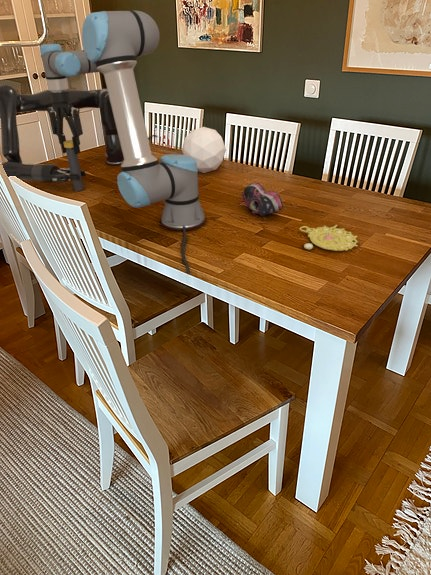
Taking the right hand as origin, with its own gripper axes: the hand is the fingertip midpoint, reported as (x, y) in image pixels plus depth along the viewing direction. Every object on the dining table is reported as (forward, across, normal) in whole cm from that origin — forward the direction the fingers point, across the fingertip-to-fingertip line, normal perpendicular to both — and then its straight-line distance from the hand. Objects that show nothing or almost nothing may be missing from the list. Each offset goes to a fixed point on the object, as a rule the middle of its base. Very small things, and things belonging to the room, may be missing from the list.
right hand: (71, 152), depth 179 cm
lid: (-4, 0, 0) cm, 4 cm away
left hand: (+9, -3, 0) cm, 10 cm away
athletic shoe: (+15, -79, +2) cm, 80 cm away
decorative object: (+15, -106, +18) cm, 109 cm away
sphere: (+15, -43, -37) cm, 59 cm away
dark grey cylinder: (+15, 0, 0) cm, 15 cm away
